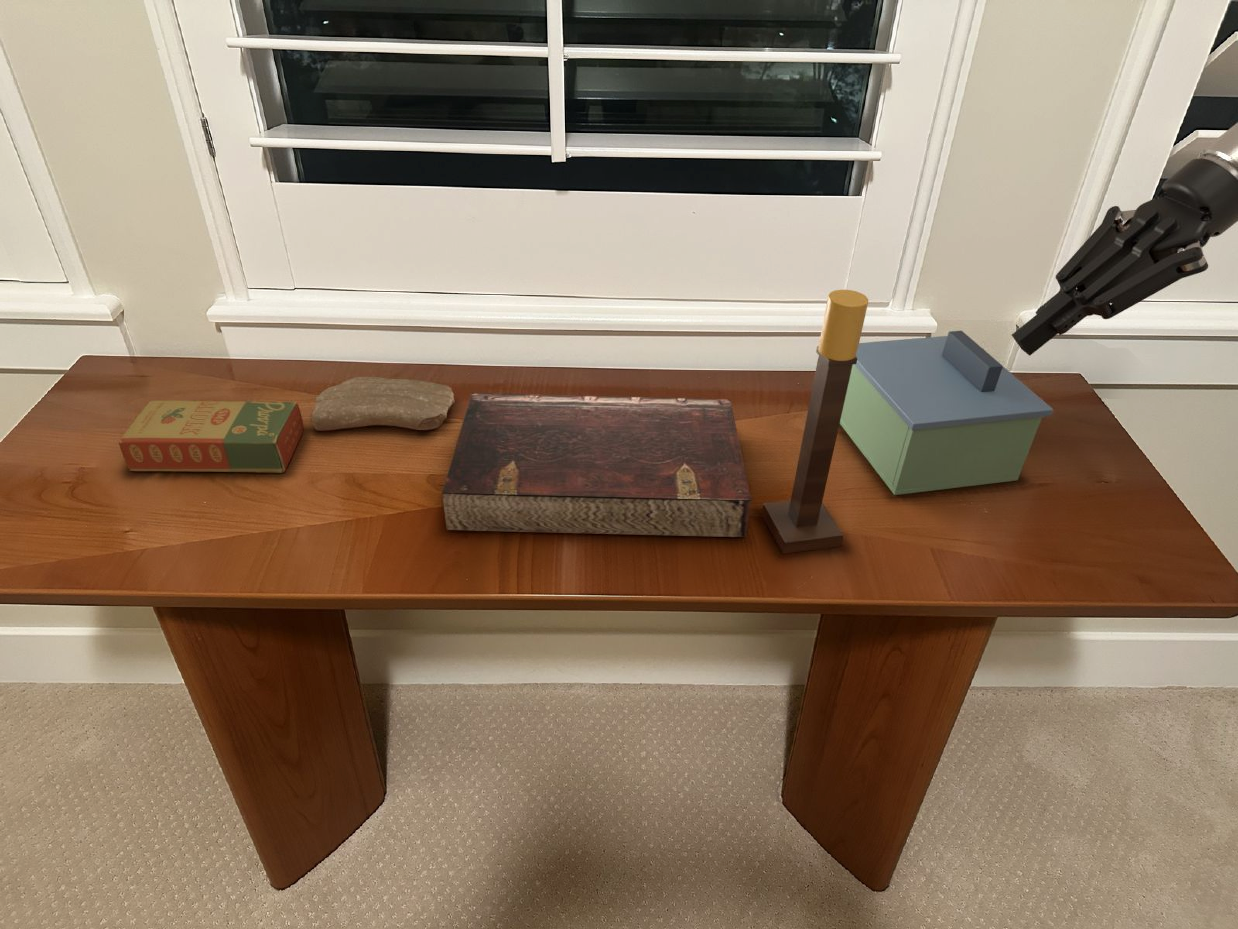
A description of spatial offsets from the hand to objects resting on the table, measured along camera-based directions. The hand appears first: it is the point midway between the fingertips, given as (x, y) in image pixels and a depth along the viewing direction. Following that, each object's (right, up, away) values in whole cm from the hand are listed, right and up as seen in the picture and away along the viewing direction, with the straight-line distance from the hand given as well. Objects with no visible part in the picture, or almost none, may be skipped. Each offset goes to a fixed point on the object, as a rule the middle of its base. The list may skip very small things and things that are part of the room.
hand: (1020, 345), depth 89 cm
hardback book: (-45, -14, -1) cm, 48 cm away
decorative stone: (-70, -7, +8) cm, 71 cm away
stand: (-25, -19, -7) cm, 32 cm away
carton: (-86, -12, +1) cm, 87 cm away
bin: (-9, -11, +6) cm, 15 cm away
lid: (-8, -4, 0) cm, 9 cm away
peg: (-25, -3, -19) cm, 31 cm away
